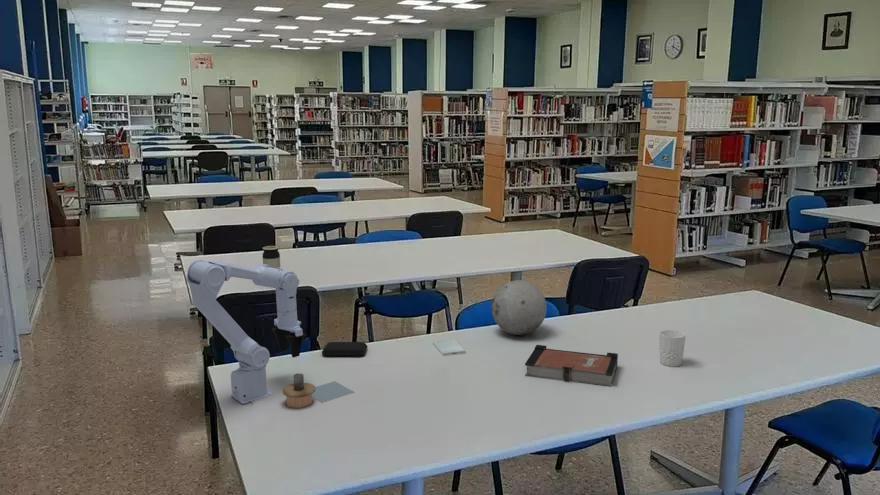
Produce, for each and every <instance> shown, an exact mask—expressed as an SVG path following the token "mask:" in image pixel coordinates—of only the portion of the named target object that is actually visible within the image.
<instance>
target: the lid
mask: <svg viewBox="0 0 880 495" xmlns="http://www.w3.org/2000/svg"><path fill="white" fill-rule="evenodd" d="M292 376H293V377H292V378H293V383H290V384H287V385H286V386H284V387H283V388H282V394H283V395H284V396H285V397H286V396H288V397H304V396H308V395H311V394H312V393H314V392H315V387H316V386H315V385H314V384H313V383H309V382H305V381H304V380H305V378H304V373H294V374H293V375H292Z"/></svg>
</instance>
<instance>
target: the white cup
mask: <svg viewBox="0 0 880 495" xmlns="http://www.w3.org/2000/svg"><path fill="white" fill-rule="evenodd" d="M686 336H687V335H686V333H685V332H683V331H679V330H674V329H664V330H660V332H659V363H660V364H661V365H663V366H665V367H671V368H672V367H673V368H676V367H680V366H682V364H683V357H684V352H685V351H684V350H685V345H686V344H685V342H686Z"/></svg>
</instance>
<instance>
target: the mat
mask: <svg viewBox="0 0 880 495" xmlns="http://www.w3.org/2000/svg"><path fill="white" fill-rule="evenodd" d="M354 393H355V391H354V390H352V389H350V388H348V387H346V386H344V385H342V384H340V383H338V382H337V381H336V380H335V381H331V382H328V383H327V382H326V383H324V384H321V385H318V386H315V392H314V393H312V399H314V400H316V401H318V402H320V403H322V404H323V403H326V402H329V401H331V400H336V399H339V398H342V397H344V396H349V395H350V394H351V395H352V394H354Z"/></svg>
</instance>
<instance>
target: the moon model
mask: <svg viewBox="0 0 880 495" xmlns="http://www.w3.org/2000/svg"><path fill="white" fill-rule="evenodd" d="M491 313H492V314H491V315H492V317H493V319H494V321H495V323H496V324H497V326H498V327H499V328H500V329H501V330H502V331H503V332H506V333H508V334H510V335H514V336H524V335H528V334H531V333H533V332H535V331H536V330H537V329H538V328H540V326H541V325H543V322H544V320H545V318H546V314H547V300H546V298H545V296H544V294H543V292H542V291H541V290H540V289H539V287H537V286H536V285H535V284H534V283H531V282H530V281H528V280H527V281H526V280H521V279H515V280H511V281H508V282H506V283H504V284H503V285H502V286H500V287H499V288H498V290H497V291H496V292H495V293H494V295H493V298H492V301H491Z"/></svg>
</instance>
